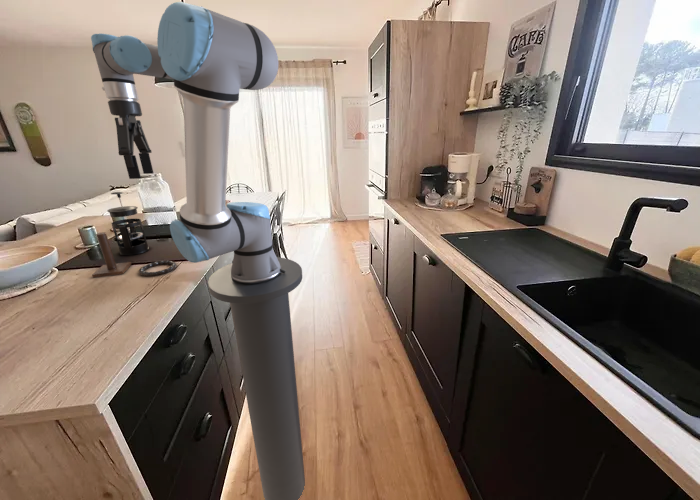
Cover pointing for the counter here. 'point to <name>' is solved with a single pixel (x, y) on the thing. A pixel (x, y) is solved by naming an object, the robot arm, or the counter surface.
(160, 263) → the ring
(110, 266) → the holder
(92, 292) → the counter surface
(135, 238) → the french press
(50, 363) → the counter surface
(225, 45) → the robot arm
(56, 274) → the counter surface
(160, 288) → the counter surface
